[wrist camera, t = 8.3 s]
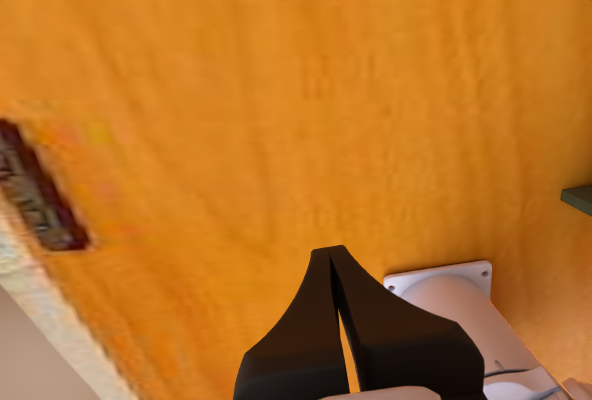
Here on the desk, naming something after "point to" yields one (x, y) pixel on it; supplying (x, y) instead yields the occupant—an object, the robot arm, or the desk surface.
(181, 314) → the desk surface
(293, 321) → the robot arm
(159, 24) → the desk surface
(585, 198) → the box
